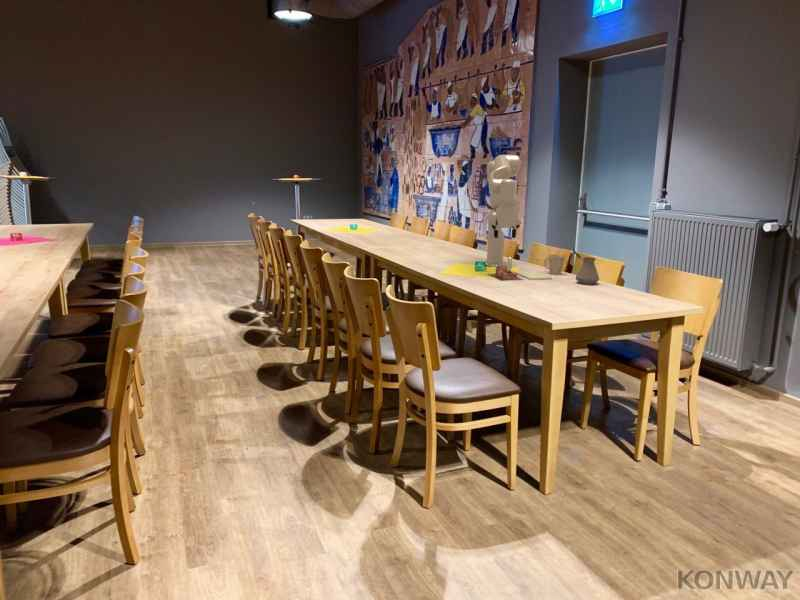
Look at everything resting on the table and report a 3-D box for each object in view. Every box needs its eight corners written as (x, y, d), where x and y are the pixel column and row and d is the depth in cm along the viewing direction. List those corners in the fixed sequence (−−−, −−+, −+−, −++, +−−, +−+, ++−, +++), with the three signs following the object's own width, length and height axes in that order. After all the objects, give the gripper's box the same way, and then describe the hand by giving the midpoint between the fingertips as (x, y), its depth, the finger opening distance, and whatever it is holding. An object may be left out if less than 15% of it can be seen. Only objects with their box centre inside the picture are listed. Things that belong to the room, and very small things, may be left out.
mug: (556, 275, 334) (558, 257, 332) (538, 272, 344) (539, 254, 341) (566, 274, 339) (567, 256, 337) (547, 270, 349) (548, 253, 347)
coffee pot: (603, 285, 311) (606, 255, 308) (583, 285, 308) (586, 255, 305) (579, 277, 331) (582, 249, 328) (560, 277, 328) (562, 249, 325)
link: (495, 274, 327) (495, 265, 326) (505, 274, 329) (505, 265, 327) (506, 279, 314) (507, 270, 313) (516, 279, 315) (517, 269, 314)
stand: (486, 276, 329) (488, 253, 326) (509, 275, 332) (511, 253, 329) (500, 282, 312) (501, 258, 309) (524, 281, 315) (525, 258, 312)
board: (513, 274, 334) (513, 271, 333) (533, 274, 337) (533, 270, 336) (529, 282, 315) (530, 278, 314) (551, 281, 318) (551, 277, 317)
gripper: (519, 204, 323) (517, 236, 327) (488, 203, 319) (486, 237, 322) (525, 204, 316) (523, 238, 320) (493, 204, 312) (492, 238, 315)
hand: (504, 237), depth 321 cm, fingers open, 9 cm apart
